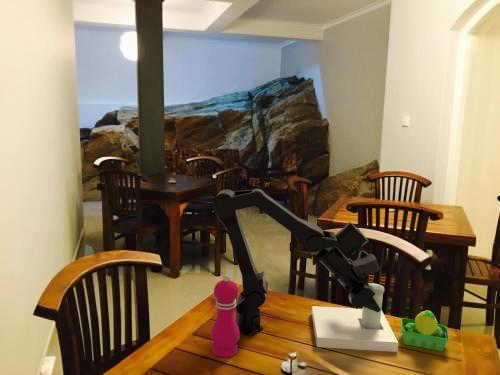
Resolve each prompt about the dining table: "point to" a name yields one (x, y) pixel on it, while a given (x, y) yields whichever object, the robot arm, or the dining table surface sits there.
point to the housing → (350, 330)
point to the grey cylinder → (369, 316)
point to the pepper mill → (225, 319)
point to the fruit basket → (424, 331)
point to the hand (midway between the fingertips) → (377, 306)
